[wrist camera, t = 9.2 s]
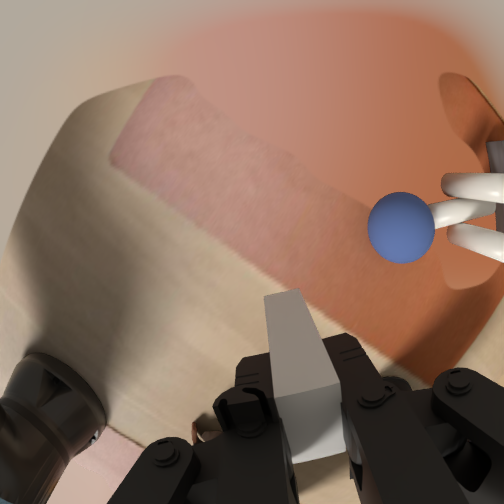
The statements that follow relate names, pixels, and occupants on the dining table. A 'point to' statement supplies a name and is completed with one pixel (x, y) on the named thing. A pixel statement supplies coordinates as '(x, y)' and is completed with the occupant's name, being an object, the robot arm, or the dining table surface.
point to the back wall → (500, 160)
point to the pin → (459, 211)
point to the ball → (401, 227)
